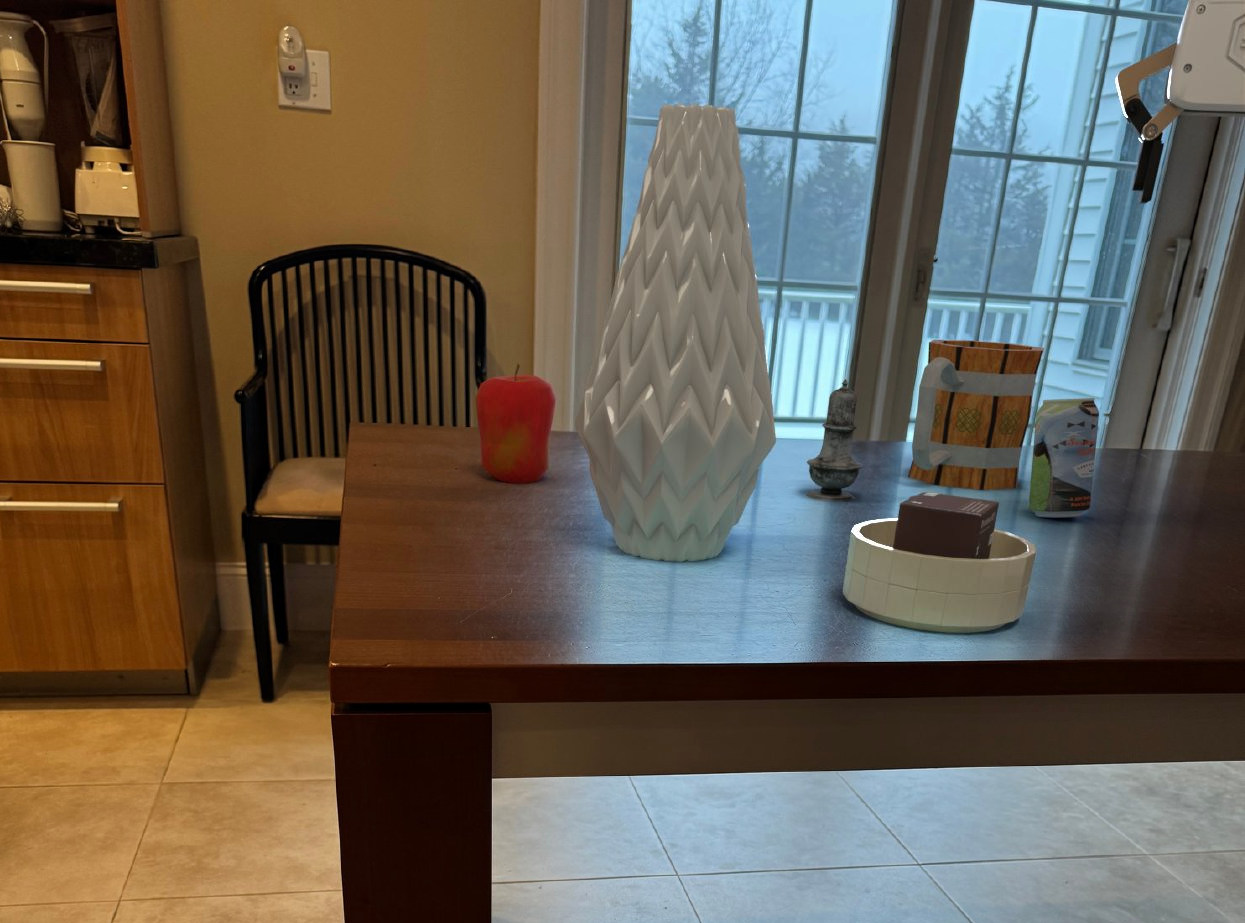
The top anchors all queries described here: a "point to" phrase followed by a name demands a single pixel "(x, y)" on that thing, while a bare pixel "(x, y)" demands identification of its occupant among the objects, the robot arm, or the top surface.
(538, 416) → the apple
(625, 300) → the vase
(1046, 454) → the beverage can
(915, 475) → the mug
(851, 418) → the salt shaker
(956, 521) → the box
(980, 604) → the bowl
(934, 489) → the top surface
